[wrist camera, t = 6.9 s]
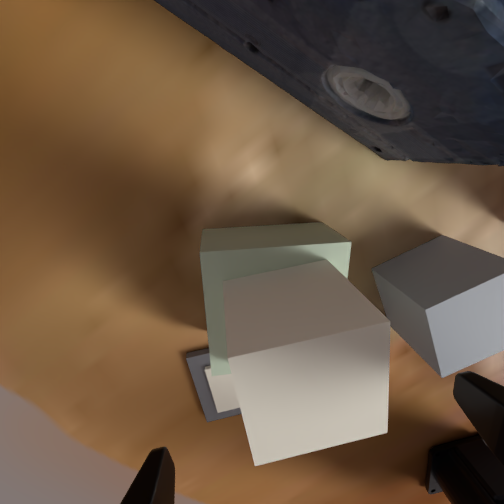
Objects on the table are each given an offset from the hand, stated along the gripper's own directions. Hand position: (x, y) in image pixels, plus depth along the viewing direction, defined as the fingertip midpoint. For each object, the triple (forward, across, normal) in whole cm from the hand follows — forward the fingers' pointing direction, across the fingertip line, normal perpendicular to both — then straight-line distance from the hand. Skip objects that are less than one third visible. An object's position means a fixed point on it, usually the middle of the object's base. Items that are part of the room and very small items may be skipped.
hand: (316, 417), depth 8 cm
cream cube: (+6, 0, 0) cm, 6 cm away
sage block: (+10, 0, 0) cm, 10 cm away
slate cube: (+10, -10, +3) cm, 14 cm away
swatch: (+9, +3, +7) cm, 12 cm away
